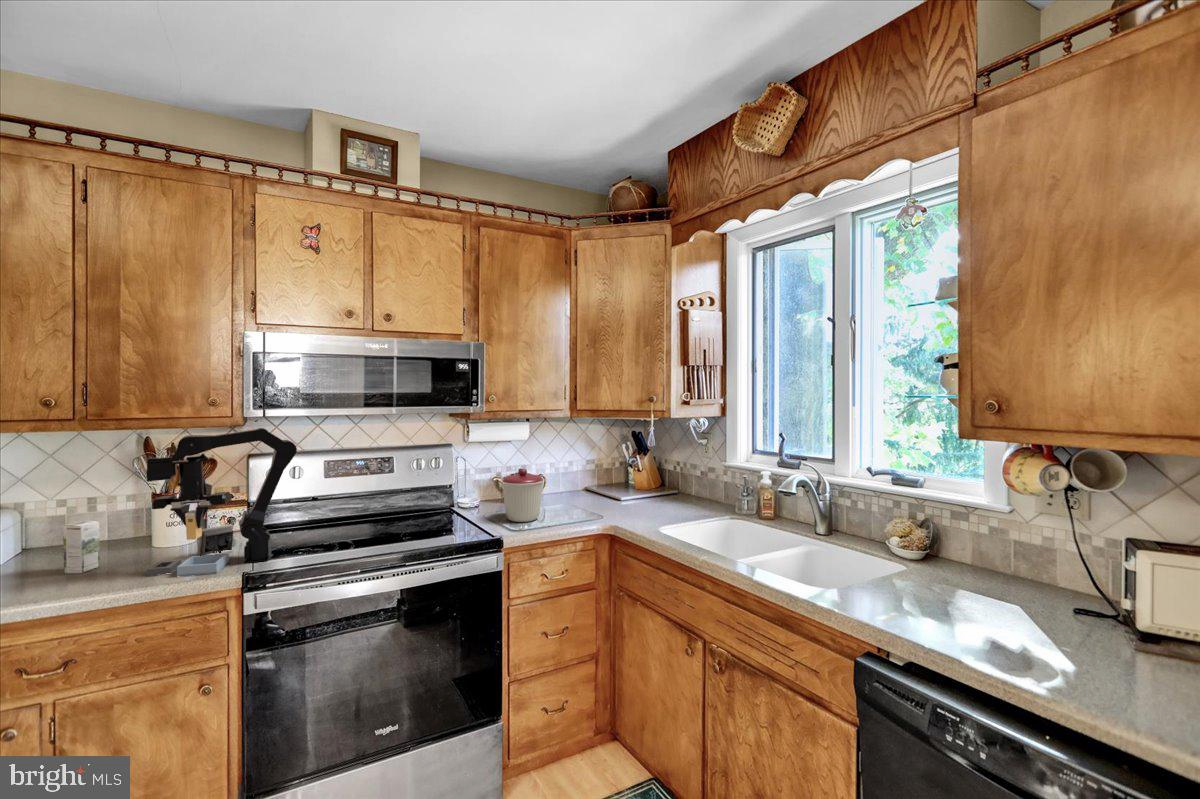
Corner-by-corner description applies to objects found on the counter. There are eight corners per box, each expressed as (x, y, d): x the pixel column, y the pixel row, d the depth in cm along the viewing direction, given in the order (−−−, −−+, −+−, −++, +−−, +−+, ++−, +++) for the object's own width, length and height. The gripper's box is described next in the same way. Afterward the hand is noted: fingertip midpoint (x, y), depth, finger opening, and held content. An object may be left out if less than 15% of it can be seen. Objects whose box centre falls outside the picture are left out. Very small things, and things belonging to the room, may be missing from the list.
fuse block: (181, 566, 168) (180, 560, 168) (170, 574, 161) (170, 567, 161) (157, 568, 166) (157, 561, 166) (146, 576, 159) (146, 569, 159)
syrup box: (82, 567, 167) (80, 520, 167) (100, 567, 167) (99, 520, 167) (63, 573, 161) (61, 525, 161) (82, 573, 161) (81, 525, 161)
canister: (492, 518, 226) (492, 468, 225) (528, 511, 238) (528, 464, 237) (516, 527, 212) (516, 474, 211) (553, 519, 224) (553, 468, 224)
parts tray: (229, 562, 171) (228, 553, 171) (216, 573, 161) (216, 563, 161) (191, 565, 168) (191, 556, 168) (177, 577, 159) (176, 566, 158)
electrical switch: (230, 548, 186) (230, 522, 185) (236, 553, 182) (236, 526, 182) (197, 555, 178) (197, 528, 178) (202, 560, 175) (202, 532, 174)
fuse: (202, 535, 167) (200, 509, 166) (196, 539, 163) (194, 512, 162) (192, 536, 166) (191, 510, 166) (186, 540, 162) (185, 513, 162)
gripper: (236, 470, 174) (239, 519, 175) (168, 474, 169) (170, 524, 169) (223, 477, 163) (225, 528, 164) (149, 481, 158) (152, 534, 159)
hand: (194, 528), depth 164 cm, fingers closed on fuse, 2 cm apart
